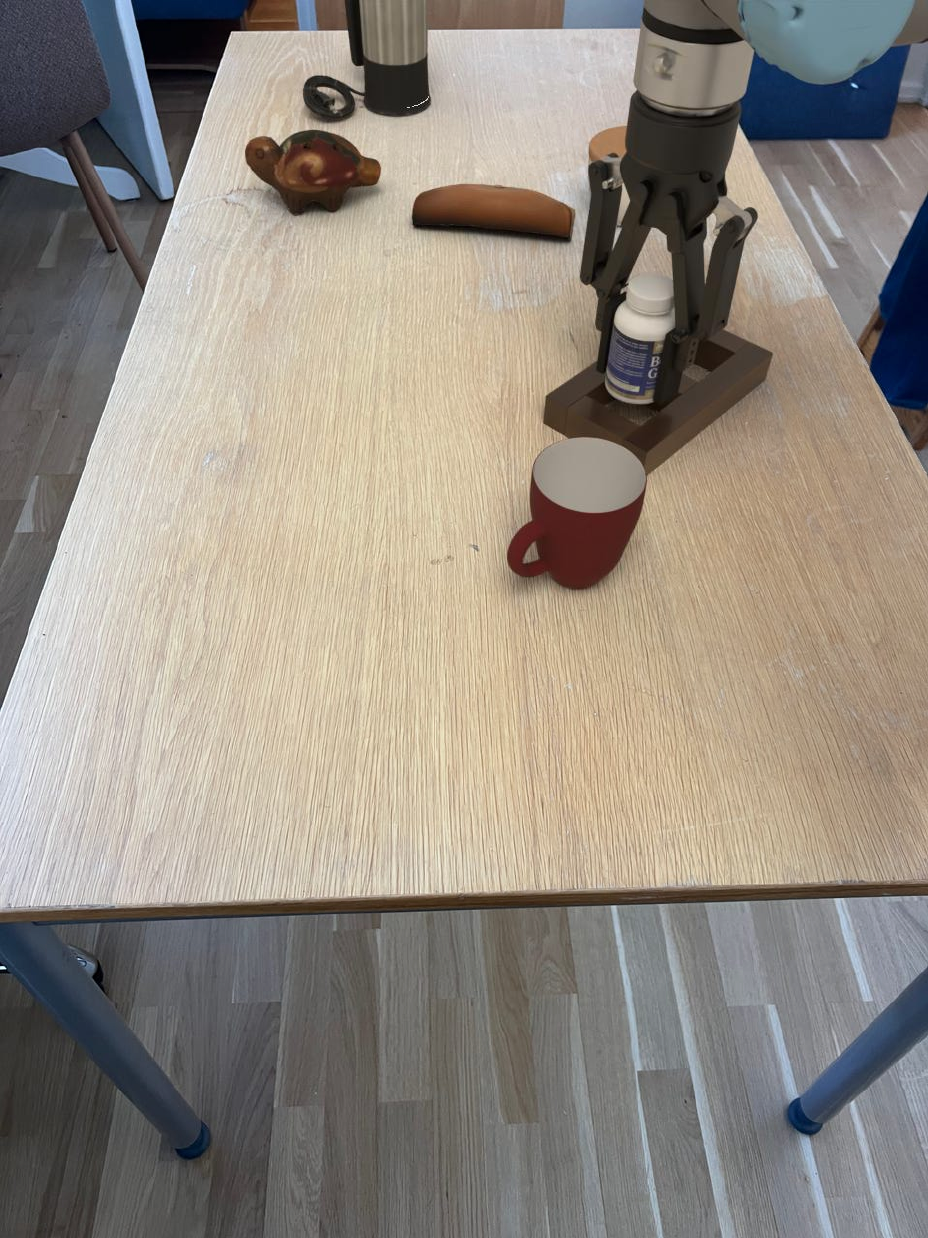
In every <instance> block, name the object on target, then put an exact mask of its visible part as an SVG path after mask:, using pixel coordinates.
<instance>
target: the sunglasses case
mask: <svg viewBox="0 0 928 1238" xmlns="http://www.w3.org/2000/svg"><path fill="white" fill-rule="evenodd" d="M411 212H412V213H411V223H412V226H413V227H414V226H416V225H420V226H445V227H447V226H456V227H465V226H472V227H476V228H484V229H490V230H491V229H492V230H507V231H508V230H510V231H514V232H520V233H532V234H540V235H548V236H549V235H550V236H558V237H563V238H565V237H567V238H566V239H568V240H569V241H572V237H573V232H574V224H575V218H576V210H575V208H573V207H571V206H569V205H568V204H567V203H564V202H562V201H560V200H557V199H555V198H553V197H551V196H549V195H547V194H544V193H542V192H539V191H537V190H533V189H529V188H523V187H516V186H503V185H502V184H495V185H493V184H483V183H457V184H449V185H445V186H439V187H435V188H431V189H428V190H424V191H421V192H420V193H419V194H418V195H417V196H416V197H415V199H414V201H413V205H412V211H411Z"/></svg>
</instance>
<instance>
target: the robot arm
mask: <svg viewBox="0 0 928 1238" xmlns="http://www.w3.org/2000/svg"><path fill="white" fill-rule="evenodd" d="M642 6H643V8H642V16H641V21H640V27H639V28H640V29H639V37H638V44H637V51H636V58H635V64H634V65H635V66H634V73H633V80H632V83H633V86H634V88H635V89H636V90H635V91H634V92H633V94H632V95H631V96H630V100H629V107H628V115H627V122H626V126H627V129H626V136H625V147H626V150H627V151H626V153H625V155H624V156H623V157H622V158H619V156H618V155H617V154H616V153H610V154H608V155H606V156H604V157H602V158H600V159H598V160H597V161H595V162H593V163H591V164H590V165H589V167H588V166H587V176H588V175H589V182H590V190H591V194H590V199H589V204H588V205H589V206H588V213H587V221H586V227H585V234H584V242H583V250H582V256H581V262H580V269H579V280H580V282H581V283H582V284H583V285H585V286H589V285H590V286H591V287H592V288H593V289H594V290H595V294H596V297H597V306H596V311H595V312H596V313H595V320H594V325H595V330H596V331H598V332H600V338H599V346H598V353H597V360H596V361H597V366H596V371H598V372H599V373H601V374H604V373H605V372H606V370H607V363H608V357H609V351H610V344H611V337H612V331H613V323H614V318H615V313H616V311H617V309H618V307H619V306H620V305H621V304H622V303H623V302H624V301H625V300H626V294H627V290H624V291H623V292H622V290H623V289H625V288H626V287H628V284H629V279H630V277H631V274H632V272H633V270H634V267H635V265H636V263H637V261H638V258H639V256H640V254H641V252H642V250H643V248H644V245H645V243H646V241H647V239H648V237H649V234H650V232H651V229H657V230H658V231H660V232H661V233H662V234H663V235H665V237H666V239H665V240H666V251H667V252H668V253H670V255H671V271H672V280H673V292H674V310H675V328H674V329H672V330H671V331H669V332H668V333H667V334H666V336H665V341H664V346H663V351H662V356H661V361H660V366H659V371H658V377H657V382H656V387H655V392H654V397H653V401H654V402H656V403H658V404H662V403H663V402H664V401H666V400H667V399H668V398H669V397H671V396H672V395H673V394H675V393H676V392H677V391H679V387H680V382H681V377H682V374H683V372H684V371H686V370H687V369H688V368H689V367H690V366H692V365H693V364H694V363H693V362H694V360H695V356H696V352H697V351H696V350H697V347H698V343H699V340H701V341H704V342H705V341H707V340H709V339H710V338H712V337H713V336H714V335H716V334H717V333H718V332H720V331H721V330H722V329H724V330H725V328H726V327H727V326H728V322H729V318H730V312H731V308H732V303H733V299H734V294H735V288H736V285H737V279H738V275H739V271H740V266H741V261H742V256H743V251H744V248H745V243H746V239H747V237H748V236H749V235H750V233H751V231H752V230H753V227H754V226H755V225H756V223H757V221H758V219H759V214H758V211H757V209H756V208H754V207H753V206H748V207H746V208H744V209H742V208H741V207H740V206H739V205H738V204H736V203H735V202H734V201H733V200H732V199H730V198H729V197H728V186H727V181H726V172H727V169H728V165H729V163H730V160H731V157H732V154H733V150H734V146H735V142H736V137H737V133H738V127H739V123H740V118H741V114H742V108H743V107H742V104H741V102H740V99H742V98H743V97H744V96H745V94H746V93H747V88H748V84H749V79H750V74H751V69H752V66H753V65H752V64H753V59H754V54H755V53H756V54H757V56H758V57H759V58H760V59H764V60H765V62H766V63H768V64H769V65H770V66H776V67H777V68H779V70H781V71H783V72H786V73H788V74H790V75H791V76H793V77H795V78H796V79H798V80H800V81H802V82H805V83H808V84H813V85H830V84H832V85H833V84H837V83H841V82H843V81H846V80H848V79H849V78H852V77H853V76H854V74H856V73H858V72H859V71H861V70H863V69H864V68H865V67H867V66H869V65H873V64H874V63H875V62H877V61H878V60H880V58H881V57H883V56H884V54H886V52H887V51H888V50H889V49H890V48H892V47H901V46H909V45H914V44H925V43H927V42H928V0H643V5H642ZM623 182H624V185H625V188H626V191H627V193H628V196H629V199H630V203H629V205H628V207H627V210H626V212H625V215H624V217H623V219H622V222H621V225H620V226H619V227H621V229H620V232H619V234H618V236H617V239H616V241H615V237H616V232H617V231H616V230H617V219H618V213H619V208H620V202H621V196H622V184H623ZM712 214H714V215H715V220H716V221H715V225H714V228H713V230H712V232H713V235H714V236H715V240H714V242H713V244H712V247H711V248H712V249H711V251H710V256H709V257H710V258H709V262H708V267H707V273H706V275H705V272H706V271H705V245H704V244H705V240H706V239H707V237H708V218H709V217H710V216H712Z"/></svg>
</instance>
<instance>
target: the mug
mask: <svg viewBox="0 0 928 1238" xmlns="http://www.w3.org/2000/svg"><path fill="white" fill-rule="evenodd" d="M647 485H648V475H647V474H646V470H645V468H644V466H643V464H642V462H641V461H640V460H639V459H638V457H637V456H636V455H635V454H633V453H632V452H631V451H630V450H628V449H626V448H625V447H623V446H621V445H619V444H617V443H614V442H612V441H608V440H605V439H600V438H593V437H576V438H566V439H562V440H559V441H556V442H554V443H552V444H550V445H548V446H547V447H545V448H544V449H543V450H542V451H541V452H539V454H538V455H537V456H536V458H535V459H534V462H533V465H532V469H531V475H530V485H529V508H530V515H531V520H530V521H528V522H527V523H525V524H523V525H522V526H521V527H520V528H519V529H518V530H517V531H516V533H515V534H514V535H513V537H512V539H511V540H510V542H509V545H508V548H507V552H506V561H507V564H508V567H509V569H510V570H511V571H512V572H513V573H514V574H515V575H517V576H518V577H520V578H524V579H526V578H527V579H528V578H534V577H537V576H540V575H542V574H545V573H546V572H548V574H549V575H550V577H552V579H553V580H554V581H555V582H556V583H557V584H559V585H560V586H562V587H564V588H566V589H570V590H585V589H586V590H587V589H588V588H591V587H593V586H595V585H596V584H598V583H600V582H601V580H603V579H604V578H605V577H606V576H608V575H609V574H610V573H611V572H612V571H613V570H614V569H615V568H616V566H617V565H618V564H619V562H620V561H621V559H622V557H623V554H624V552H625V550H626V548H627V546H628V544H629V542H630V540H631V537H632V536H633V533H634V531H635V528H636V527H637V525H638V523H639V520H640V517H641V514H642V511H643V507H644V503H645V498H646V497H645V496H646V491H647ZM534 543H535V548H536V553H537V555H538V558H537V559H536V560H533V561H529V562H524V561H525V557H526V554H527V552H528V550H529V549H530V547H531V546H532V545H533V544H534Z"/></svg>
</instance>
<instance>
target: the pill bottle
mask: <svg viewBox="0 0 928 1238" xmlns="http://www.w3.org/2000/svg"><path fill="white" fill-rule="evenodd" d="M628 283H629V284H628V286H627V290H626V292H627V294H626V300H625V301H624V302H623V303H622V304H621V305H620V306H619V307H618V309H617V311H616V313H615V318H614V323H613V331H612V337H611V344H610V351H609V357H608V363H607V370H606V378H605V385H606V388H607V390H608V392H609V393H610V394H611V395H612V396H613V397H615V399H616V400H618V401H620V402H623V403H627V404H631V405H645V404H649V403H652V402H654V401H653V397H654V392H655V387H656V382H657V377H658V371H659V366H660V361H661V356H662V351H663V346H664V341H665V336H666V334H667V333H668V332H669V331H671V330H672V329H674V328H675V310H674V292H673V278H671V277H669V276H668V275H667V276H666V275H663V274H661V273H654V272H647V273H646V272H645V273H640V274H637V275H635V276H633V277H632V278H630V280H629V281H628Z"/></svg>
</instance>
